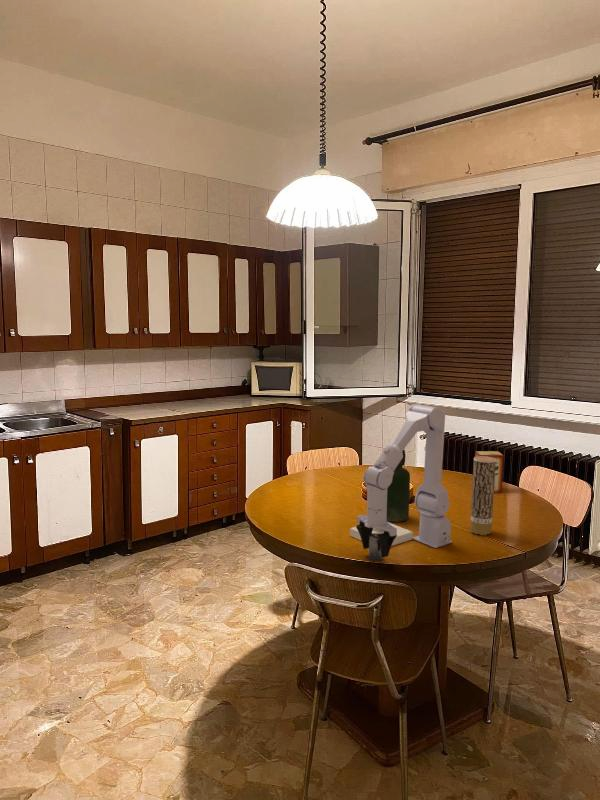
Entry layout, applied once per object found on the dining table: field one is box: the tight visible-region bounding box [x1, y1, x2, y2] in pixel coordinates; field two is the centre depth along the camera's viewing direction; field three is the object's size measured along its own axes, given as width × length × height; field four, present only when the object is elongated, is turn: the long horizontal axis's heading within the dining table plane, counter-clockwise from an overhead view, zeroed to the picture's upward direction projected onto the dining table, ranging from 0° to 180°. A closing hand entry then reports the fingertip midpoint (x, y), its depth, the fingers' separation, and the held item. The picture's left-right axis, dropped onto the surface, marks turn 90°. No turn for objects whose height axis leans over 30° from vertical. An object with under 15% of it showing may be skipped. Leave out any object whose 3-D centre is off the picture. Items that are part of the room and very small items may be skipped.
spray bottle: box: [386, 448, 411, 523], centre depth 211 cm, size 10×10×25 cm
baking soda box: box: [474, 450, 505, 494], centre depth 245 cm, size 10×6×16 cm
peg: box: [368, 533, 383, 562], centre depth 177 cm, size 4×4×7 cm
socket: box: [349, 521, 414, 547], centre depth 194 cm, size 14×14×2 cm
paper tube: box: [469, 456, 496, 536], centre depth 197 cm, size 7×7×25 cm
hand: (375, 552), depth 177 cm, fingers open, 7 cm apart
